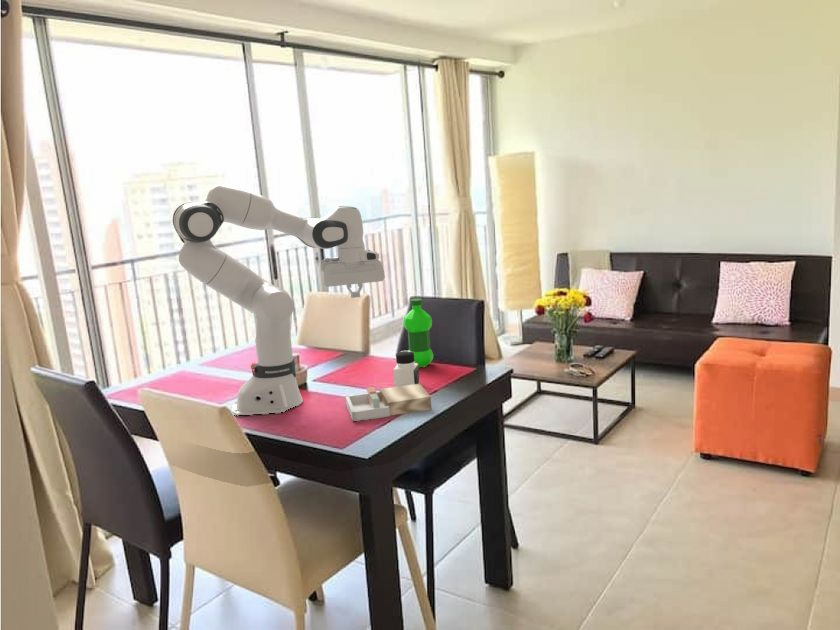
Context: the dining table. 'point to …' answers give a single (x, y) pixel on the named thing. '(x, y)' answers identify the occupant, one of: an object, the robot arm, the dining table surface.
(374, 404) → the sage tile
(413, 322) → the plastic bottle
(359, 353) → the dining table surface
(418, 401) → the birch block
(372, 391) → the terracotta tile
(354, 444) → the dining table surface
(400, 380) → the medicine bottle
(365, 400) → the grey box
